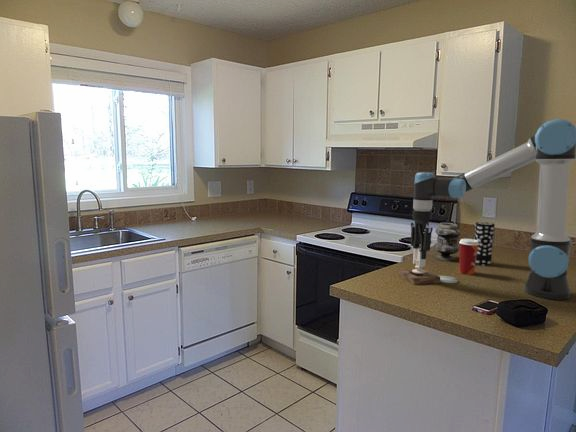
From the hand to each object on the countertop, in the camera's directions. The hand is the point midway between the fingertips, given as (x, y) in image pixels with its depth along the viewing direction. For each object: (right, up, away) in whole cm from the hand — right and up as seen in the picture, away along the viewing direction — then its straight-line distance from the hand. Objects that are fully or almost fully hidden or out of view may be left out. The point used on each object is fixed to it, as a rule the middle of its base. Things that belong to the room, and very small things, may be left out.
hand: (418, 264), depth 175 cm
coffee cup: (+25, -5, +12) cm, 29 cm away
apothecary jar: (+25, -1, +37) cm, 45 cm away
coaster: (+12, -7, +1) cm, 14 cm away
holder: (0, -6, +1) cm, 6 cm away
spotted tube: (+40, -3, +29) cm, 49 cm away
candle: (0, -3, +1) cm, 3 cm away
